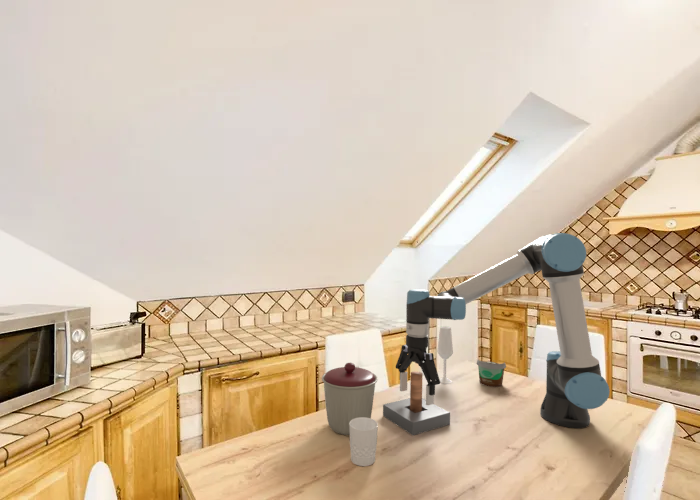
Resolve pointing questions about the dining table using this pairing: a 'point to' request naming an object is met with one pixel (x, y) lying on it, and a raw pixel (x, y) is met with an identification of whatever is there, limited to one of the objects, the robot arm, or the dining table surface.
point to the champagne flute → (445, 349)
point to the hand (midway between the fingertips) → (416, 397)
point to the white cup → (363, 440)
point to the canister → (348, 395)
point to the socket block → (416, 416)
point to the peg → (416, 392)
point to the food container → (491, 373)
